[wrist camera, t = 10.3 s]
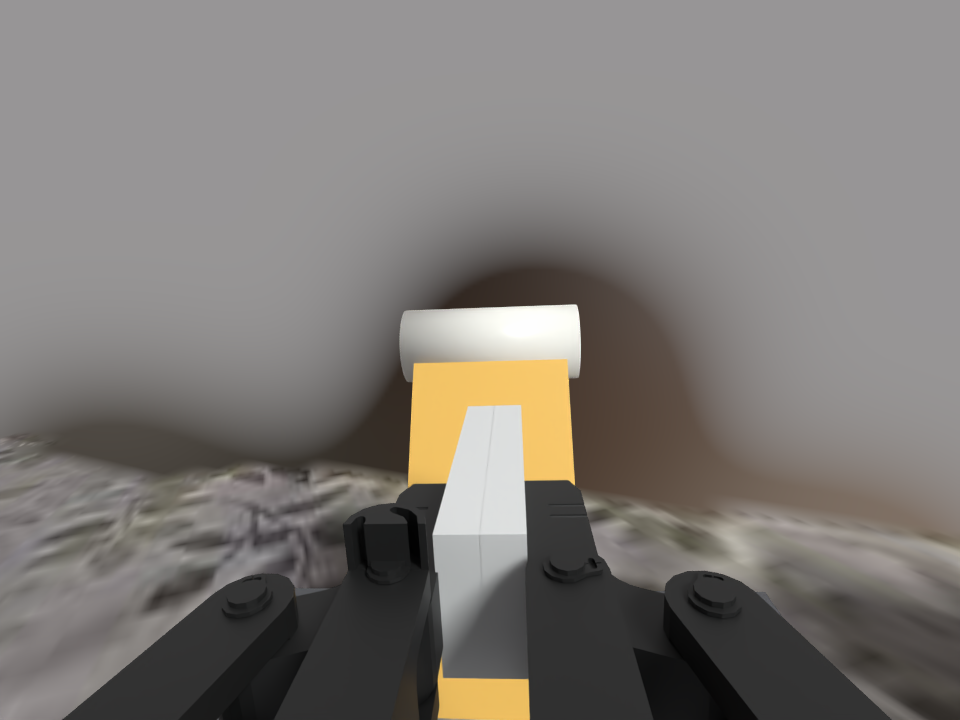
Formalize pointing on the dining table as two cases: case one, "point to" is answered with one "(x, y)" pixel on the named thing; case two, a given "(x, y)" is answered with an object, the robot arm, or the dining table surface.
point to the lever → (490, 382)
